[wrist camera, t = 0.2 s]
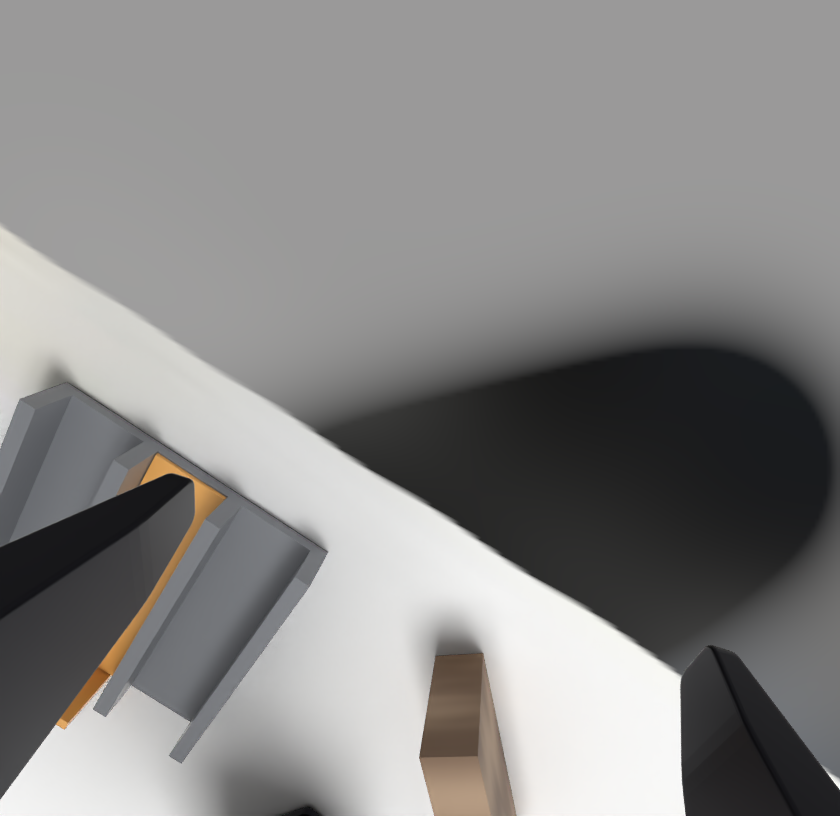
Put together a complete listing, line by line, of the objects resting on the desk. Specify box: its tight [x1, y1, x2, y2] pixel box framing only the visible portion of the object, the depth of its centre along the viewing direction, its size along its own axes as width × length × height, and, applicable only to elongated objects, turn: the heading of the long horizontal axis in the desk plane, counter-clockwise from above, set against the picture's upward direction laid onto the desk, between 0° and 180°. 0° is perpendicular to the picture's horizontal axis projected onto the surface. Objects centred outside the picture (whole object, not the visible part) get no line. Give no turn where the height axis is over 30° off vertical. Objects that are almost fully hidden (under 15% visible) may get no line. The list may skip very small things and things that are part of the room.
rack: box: [0, 382, 328, 763], centre depth 28 cm, size 15×15×4 cm
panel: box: [419, 653, 516, 816], centre depth 28 cm, size 12×2×6 cm, turn 12°
